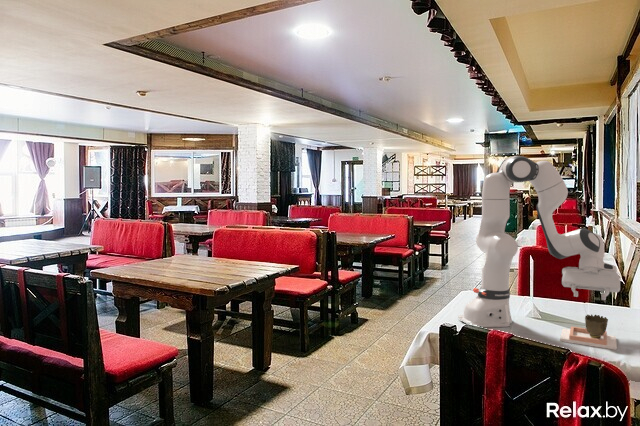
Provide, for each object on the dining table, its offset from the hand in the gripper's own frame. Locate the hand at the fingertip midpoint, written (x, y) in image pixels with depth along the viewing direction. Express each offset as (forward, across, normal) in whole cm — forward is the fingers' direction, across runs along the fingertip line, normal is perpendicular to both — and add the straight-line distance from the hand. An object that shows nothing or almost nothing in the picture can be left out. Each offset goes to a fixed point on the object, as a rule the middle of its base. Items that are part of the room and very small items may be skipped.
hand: (589, 297), depth 180 cm
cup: (+15, +2, +4) cm, 16 cm away
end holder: (+16, 0, +4) cm, 17 cm away
